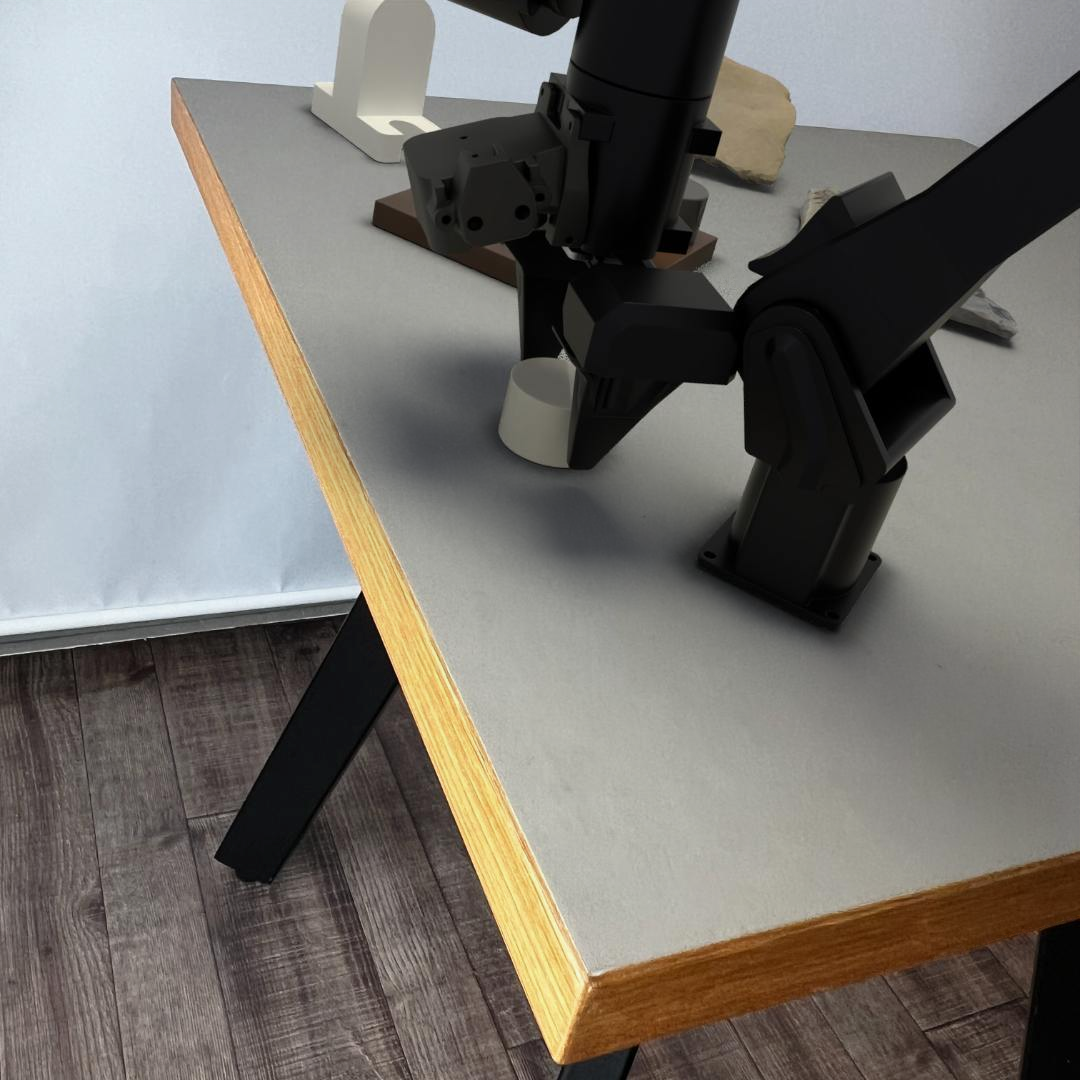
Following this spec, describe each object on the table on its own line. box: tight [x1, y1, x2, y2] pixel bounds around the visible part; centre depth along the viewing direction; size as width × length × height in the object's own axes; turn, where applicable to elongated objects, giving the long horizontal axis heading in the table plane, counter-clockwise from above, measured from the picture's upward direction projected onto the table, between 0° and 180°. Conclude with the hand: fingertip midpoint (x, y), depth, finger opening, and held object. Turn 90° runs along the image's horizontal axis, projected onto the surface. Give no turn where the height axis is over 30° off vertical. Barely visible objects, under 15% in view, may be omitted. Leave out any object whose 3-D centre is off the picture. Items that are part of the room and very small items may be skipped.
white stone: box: [497, 358, 576, 469], centre depth 57 cm, size 5×5×3 cm
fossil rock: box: [797, 186, 1019, 339], centre depth 87 cm, size 18×15×2 cm
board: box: [371, 187, 719, 288], centre depth 77 cm, size 16×16×2 cm
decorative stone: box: [694, 54, 797, 186], centre depth 97 cm, size 8×14×8 cm, turn 80°
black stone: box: [678, 178, 710, 243], centre depth 78 cm, size 5×5×3 cm
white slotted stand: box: [311, 0, 442, 164], centre depth 84 cm, size 5×10×10 cm, turn 37°
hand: (554, 420), depth 57 cm, fingers open, 8 cm apart
